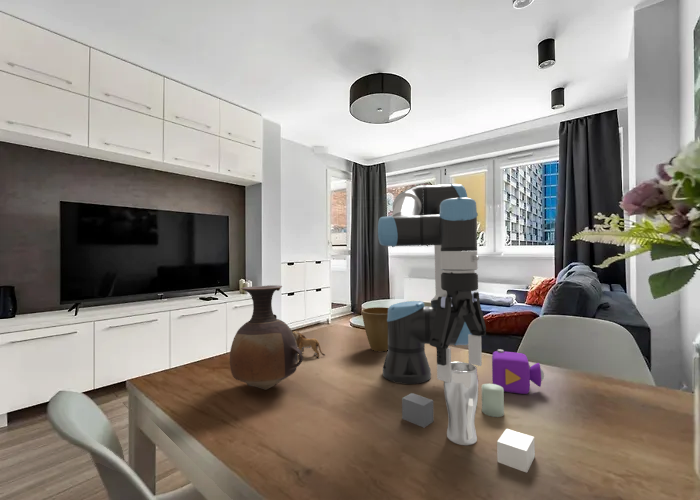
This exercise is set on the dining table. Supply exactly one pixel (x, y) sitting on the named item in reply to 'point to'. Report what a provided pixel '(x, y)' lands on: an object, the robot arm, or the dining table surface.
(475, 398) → the beer glass
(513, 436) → the off-white brick
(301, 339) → the lion figurine
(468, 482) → the dining table surface
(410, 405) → the charcoal block
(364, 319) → the plant pot
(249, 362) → the vase
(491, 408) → the sage cylinder
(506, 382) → the toy camera
